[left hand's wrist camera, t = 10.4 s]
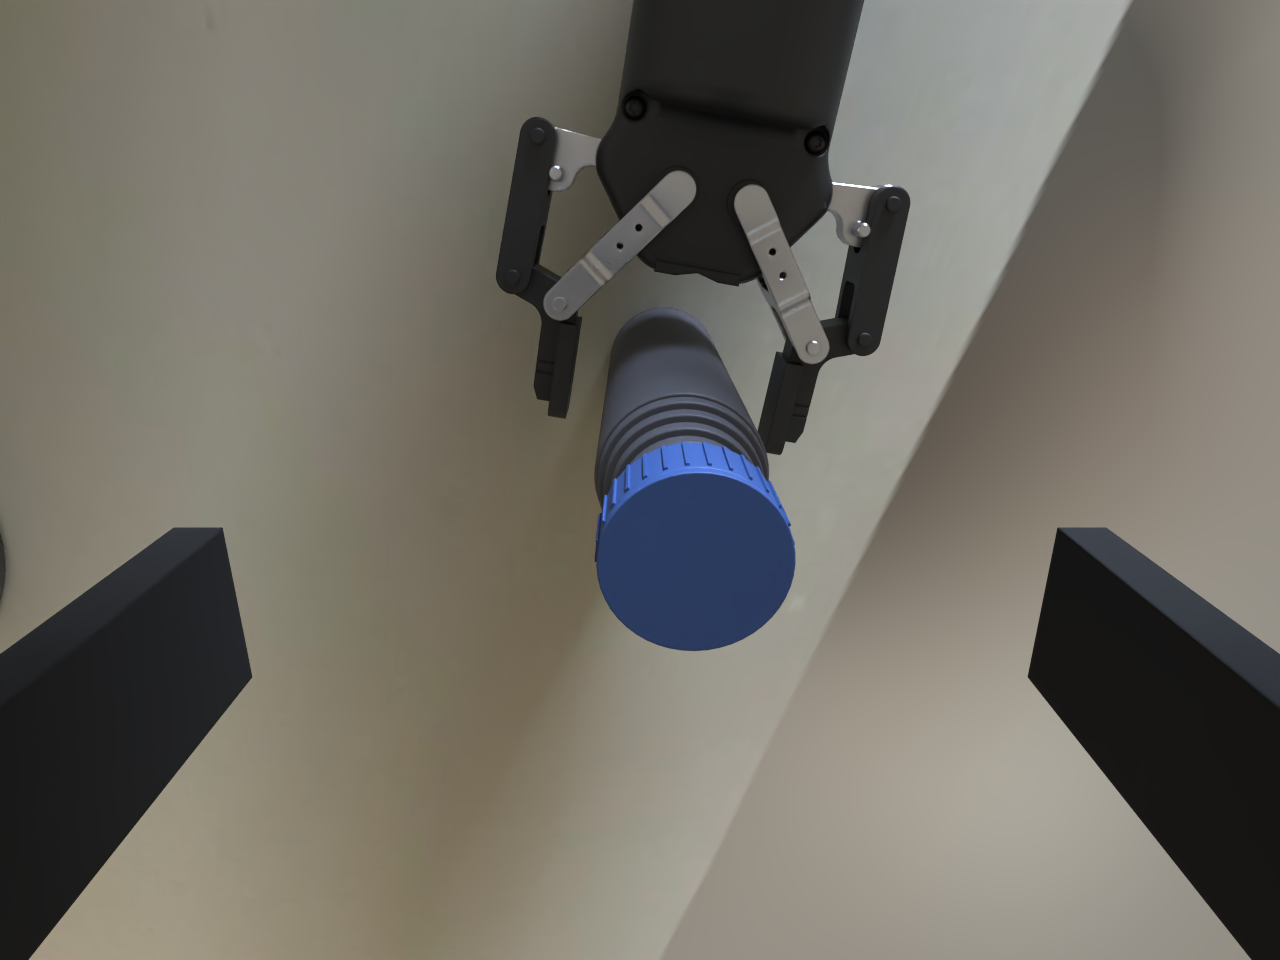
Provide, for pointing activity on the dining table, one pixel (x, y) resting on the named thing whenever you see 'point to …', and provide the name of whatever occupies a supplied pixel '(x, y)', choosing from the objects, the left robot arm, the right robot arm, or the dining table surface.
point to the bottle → (669, 396)
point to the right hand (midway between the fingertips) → (664, 430)
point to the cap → (693, 547)
